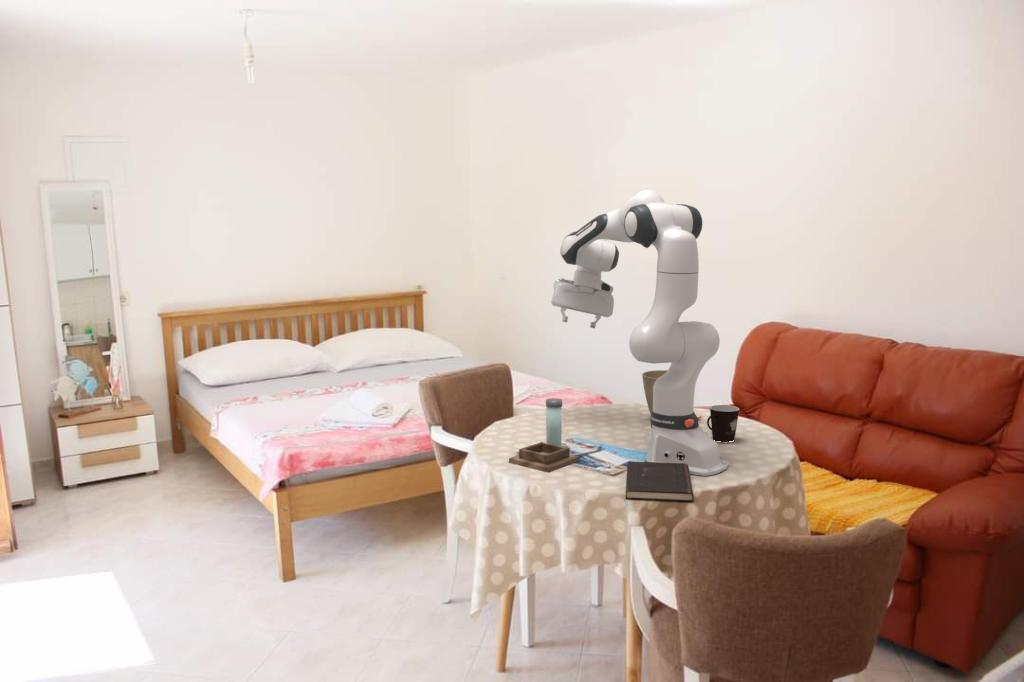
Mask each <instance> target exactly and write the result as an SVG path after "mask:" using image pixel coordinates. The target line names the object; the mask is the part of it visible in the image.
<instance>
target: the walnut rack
mask: <svg viewBox="0 0 1024 682" xmlns="http://www.w3.org/2000/svg"><path fill="white" fill-rule="evenodd" d="M570 450H571V449H570V447H566V446H562V445H561V446H558V445H553V444H549V443H546V442H543V441H540V442H538V443H534V444H531V445H528V446H525V447H521V448H520V449H518V454H517V455H515V456H512V457H509V458H508V463H510V464H514V465H518V466H521V467H525V468H530V469H534V470H537V471H542V472H546V473H550V472H553V471H556V470H560V469H561V468H564V467H566V466H570V465H571V464H575V463H577V462H579V460H580V458H581V457H580V456H579V455H576V454H575V455H574V454H570V453H571V452H570Z"/></svg>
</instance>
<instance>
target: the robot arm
mask: <svg viewBox="0 0 1024 682" xmlns="http://www.w3.org/2000/svg"><path fill="white" fill-rule="evenodd" d="M702 229H703V218H702V214H701V212H700V211H699V210H698V209H697V208H696V207H694V206H693V205H688V204H683V203H681V204H680V203H676V204H674V203H672V204H671V203H665V200H664V198H663V197H662V195H661V194H660V193H659V192H657V191H655V190H652V189H643V190H641V191H639V192H637V193H636V194H634V195H633V196H632V197H630V198H629V199H628V200H627V201H626V202H625V203H624V204H622V206H620V207H618V208H616V209H615V210H612V211H609V212H606V213H602V214H599V215H597V216H595V217H594V218H593V219H591V220H590V221H589V222H587V223H585V224H584V225H583V226H581V227H580V228H579V229H577V230H576V231H573V232H570V233H569V234H567V235H566V236H565V237H564V239H563V241H562V243H561V246H560V256H561V258H562V259H563V261H564V262H565V263H566V264H568V265H572V266H573V265H574V266H576V268H575V271H574V274H573V280H570V279H565V278H559V279H556V280H555V281H554V283H553V290H554V291H553V294H552V297H551V304H552V306H554V307H558V308H560V313H561V315H562V320H561V321H562V322H563V323H568V319H569V316H567V315H566V311H567V309H568V310H572V311H576V312H581V313H585V314H590V315H594V316H595V320H594V321H591V322H590V325H589V328H590V329H596V327H597V323H598V322H599V321H600V320H601V318H602V317H603V318H610V317H611V316H612V315H613V313H614V306H615V305H614V301H615V300H614V296H613V292H614V287H613V286H612V285H610V284H608V283H607V282H605V281H604V280H602V272H603V273H605V272H606V273H607V272H609V273H610V272H611V271H612V270H614V269H615V268H616V267H617V265H618V263H619V258H620V251H619V248H618V247H617V245H616V244H614V243H612V242H611V241H617V242H621V243H629V244H630V243H636V244H638V245H641V246H642V247H644V248H645V249H648V248H650V246H653V247H655V249H656V251H657V263H656V278H655V279H656V280H655V281H656V282H655V293H654V298H653V299H654V300H653V303H652V305H651V308H650V310H649V312H648V314H647V315H646V317H645V318H644V320H643V321H642V322H641V323H640V324H639V325H638V326H636V327H635V328H634V329H633V330H632V331H631V333H630V337H629V340H628V345H629V350H630V353H631V355H632V357H634V359H635V360H636V361H638V362H640V363H646V364H647V363H648V364H668V363H669V364H670V366H669V368H668V369H667V370H668V371H667V372H666V373H665V374H664V375H662V376H661V377H659V378H658V379H657V380H656V382H655V383H654V386H653V410H652V411H651V414H650V428H651V431H650V433H651V434H650V441H649V447H648V451H647V453H646V457H645V462H659V463H686V464H688V467H689V473H690V475H694V476H695V475H696V476H701V477H702V476H703V477H707V476H712V475H713V476H715V475H716V474H719V473H722V472H724V471H725V470H727V469H728V467H729V462H728V461H727V460H724V459H721V454H720V448H719V443H718V442H715V441H714V440H713V438H712V437H711V436H710V435H709V434H707V432H705V430H703V428H701V427H700V423H699V422H700V421H702V420H703V419H702V418H703V416H702V415H700V416H697V414H696V413H695V410H694V404H695V403H694V401H695V390H696V389H695V388H696V384H697V380H698V378H699V375H700V374H701V371H702V369H703V368H704V366H705V365H706V364H707V362H709V361H710V360H711V359H712V358H713V357H714V356H715V355H716V354H717V352H718V350H719V348H720V336H719V332H718V330H717V329H716V327H715V326H714V325H713V324H711V323H707V322H702V321H696V320H695V321H694V320H693V321H679V320H680V319H681V316H682V314H683V313H684V312H685V311H686V310H688V309H689V308H691V307H693V305H694V304H695V303H696V301H697V299H698V292H699V291H698V287H699V250H698V243H697V239H698V238H699V237H700V235H701V232H702ZM607 240H608V241H607ZM609 240H610V242H609Z"/></svg>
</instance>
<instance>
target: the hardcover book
mask: <svg viewBox="0 0 1024 682" xmlns="http://www.w3.org/2000/svg"><path fill="white" fill-rule="evenodd" d="M625 500H636V501H637V500H638V501H639V500H640V501H657V502H658V501H661V502H662V501H663V502H686V503H691V502H692V501H693V500H694V493H693V487H692V479H691V474H690V473H689V467H688V464H686V463H659V462H647V461H627V465H626V480H625Z"/></svg>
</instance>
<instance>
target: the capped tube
mask: <svg viewBox="0 0 1024 682" xmlns="http://www.w3.org/2000/svg"><path fill="white" fill-rule="evenodd" d="M545 406H546V408H545V409H546V412H545V413H546V421H545V422H546V425H545V426H546V432H545V433H546V434H545V435H546V442H545V443H549V444H553V445H558V446H562V422H563V421H562V419H563V418H562V416H563V415H562V414H563V413H562V407H563V399H561V398H557V397H555V398H553V397H552V398H546V399H545Z"/></svg>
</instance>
